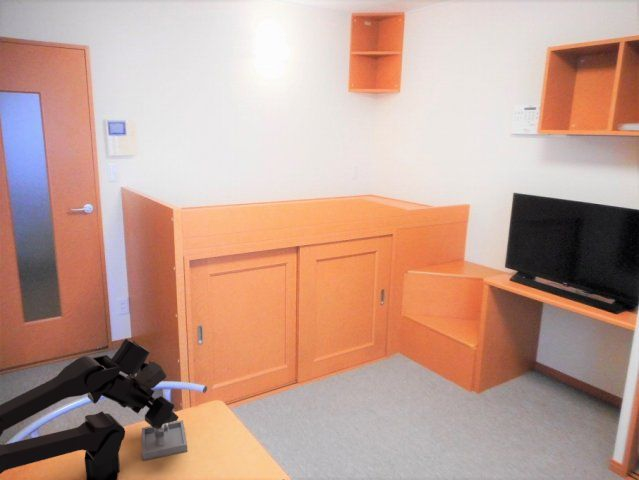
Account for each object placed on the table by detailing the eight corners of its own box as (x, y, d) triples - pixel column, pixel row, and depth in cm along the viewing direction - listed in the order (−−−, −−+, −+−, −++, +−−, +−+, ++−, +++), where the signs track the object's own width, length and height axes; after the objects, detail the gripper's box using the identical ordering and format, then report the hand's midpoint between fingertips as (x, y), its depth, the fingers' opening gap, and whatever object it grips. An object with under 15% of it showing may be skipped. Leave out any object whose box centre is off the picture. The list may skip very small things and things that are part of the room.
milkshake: (174, 445, 118) (172, 410, 116) (152, 448, 116) (150, 413, 114) (174, 433, 122) (172, 400, 120) (152, 437, 121) (150, 403, 118)
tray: (142, 461, 113) (142, 453, 112) (142, 434, 122) (141, 428, 122) (187, 451, 117) (186, 444, 116) (183, 426, 126) (182, 420, 126)
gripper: (164, 372, 105) (207, 396, 115) (124, 345, 117) (166, 369, 127) (132, 419, 101) (180, 439, 111) (95, 386, 113) (141, 407, 123)
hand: (167, 411), depth 118 cm, fingers open, 9 cm apart
